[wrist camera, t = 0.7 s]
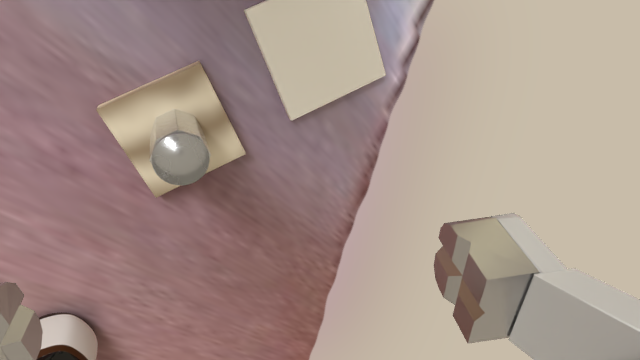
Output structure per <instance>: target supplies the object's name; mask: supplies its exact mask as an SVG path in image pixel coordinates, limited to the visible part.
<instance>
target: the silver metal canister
mask: <svg viewBox="0 0 640 360" xmlns="http://www.w3.org/2000/svg"><path fill="white" fill-rule="evenodd" d="M210 156H211V154H210V151H209V148H208V145H207V142H206V139H205V135H204V132H203V130H202V128H201V127H200V125H199V123H198V121H197V119H196V118H195V116H194V115H192V114H189V113H186V112H183V111H180V110H176V109H173V110H171V111H169V112H166V113H164V114H162V115H160V116H158V117H156V118H155V122H154V125H153V128H152V131H151V134H150V158H149V161H150V162H151V164H152V166H153V169H154V171H155V173H156V174H157V175H158V176H159V177H160V178H161V179H162V180H163V181H165V182H167V183H169V184H173V185H188V184H191V183H194V182H196V181H198V180H199V179H200V178H201V177H202V176H203V175H204V174H205V173H206V171H207V169H208V166H209V161H210Z"/></svg>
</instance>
